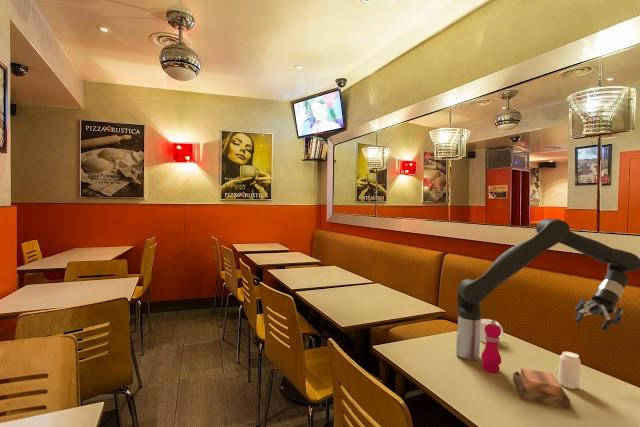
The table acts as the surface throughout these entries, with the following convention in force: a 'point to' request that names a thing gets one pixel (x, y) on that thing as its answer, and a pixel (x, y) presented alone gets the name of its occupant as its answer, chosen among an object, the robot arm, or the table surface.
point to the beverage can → (569, 370)
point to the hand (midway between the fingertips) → (590, 325)
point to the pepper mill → (491, 349)
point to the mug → (482, 332)
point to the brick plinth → (538, 395)
